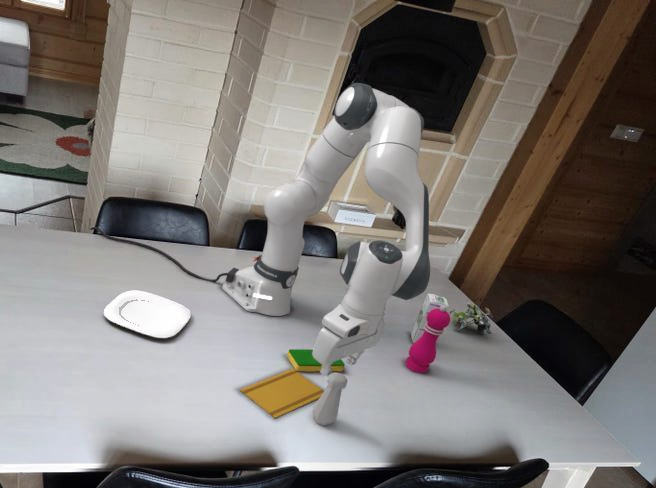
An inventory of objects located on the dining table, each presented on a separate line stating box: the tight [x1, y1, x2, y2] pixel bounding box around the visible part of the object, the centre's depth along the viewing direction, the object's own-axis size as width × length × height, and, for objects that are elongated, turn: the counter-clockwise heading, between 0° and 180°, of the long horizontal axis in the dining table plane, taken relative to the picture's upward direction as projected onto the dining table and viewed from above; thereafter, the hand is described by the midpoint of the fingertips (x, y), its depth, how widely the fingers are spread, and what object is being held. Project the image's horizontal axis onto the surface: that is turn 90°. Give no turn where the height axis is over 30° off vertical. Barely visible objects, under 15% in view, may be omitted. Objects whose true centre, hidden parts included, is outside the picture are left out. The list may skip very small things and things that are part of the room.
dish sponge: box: [286, 348, 346, 372], centre depth 173 cm, size 7×14×2 cm, turn 104°
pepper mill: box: [405, 305, 451, 374], centre depth 177 cm, size 7×7×20 cm
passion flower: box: [449, 301, 493, 336], centre depth 205 cm, size 11×11×12 cm
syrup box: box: [410, 292, 450, 344], centre depth 192 cm, size 6×6×14 cm
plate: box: [103, 289, 192, 340], centre depth 178 cm, size 22×22×2 cm
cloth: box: [239, 368, 325, 419], centre depth 160 cm, size 12×20×1 cm, turn 130°
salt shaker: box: [312, 372, 348, 427], centre depth 150 cm, size 6×6×13 cm
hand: (337, 368), depth 145 cm, fingers open, 8 cm apart
